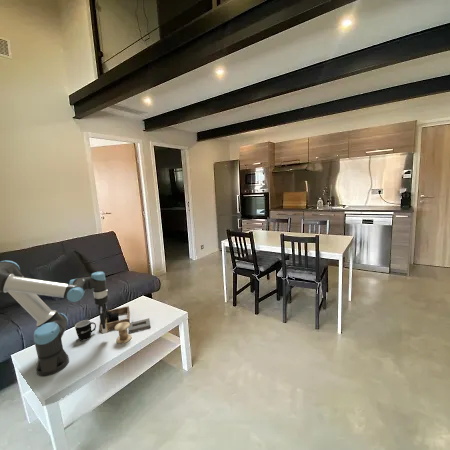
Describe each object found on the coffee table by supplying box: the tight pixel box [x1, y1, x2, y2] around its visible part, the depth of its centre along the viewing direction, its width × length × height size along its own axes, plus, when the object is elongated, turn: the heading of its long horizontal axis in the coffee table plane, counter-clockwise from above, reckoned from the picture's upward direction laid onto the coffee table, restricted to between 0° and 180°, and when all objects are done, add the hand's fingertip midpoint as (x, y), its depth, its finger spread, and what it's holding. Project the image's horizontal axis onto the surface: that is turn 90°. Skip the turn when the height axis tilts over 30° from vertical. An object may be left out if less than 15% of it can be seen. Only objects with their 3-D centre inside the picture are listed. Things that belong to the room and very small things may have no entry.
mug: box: [74, 319, 97, 341], centre depth 168 cm, size 12×9×10 cm
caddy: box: [98, 305, 131, 333], centre depth 185 cm, size 19×21×5 cm
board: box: [128, 317, 152, 334], centre depth 176 cm, size 14×10×2 cm
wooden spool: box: [114, 322, 132, 345], centre depth 162 cm, size 9×9×10 cm
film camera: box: [106, 310, 120, 323], centre depth 184 cm, size 15×10×9 cm, turn 21°
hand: (104, 331), depth 162 cm, fingers closed on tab, 3 cm apart
